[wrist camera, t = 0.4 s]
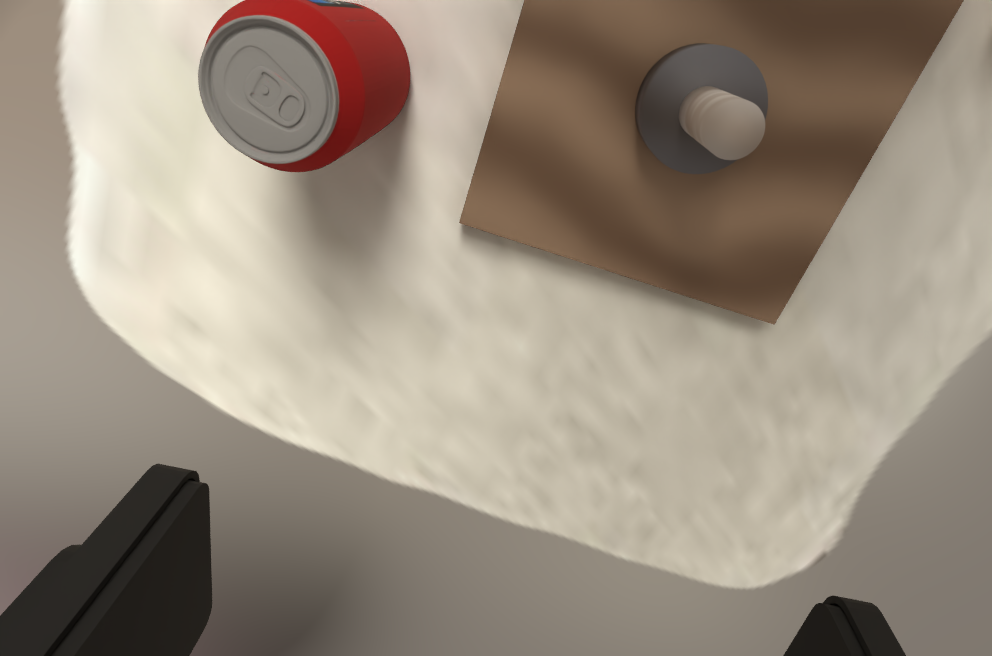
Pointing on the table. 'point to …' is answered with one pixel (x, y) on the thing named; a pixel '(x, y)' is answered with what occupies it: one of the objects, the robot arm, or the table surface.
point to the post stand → (695, 134)
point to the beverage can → (302, 79)
